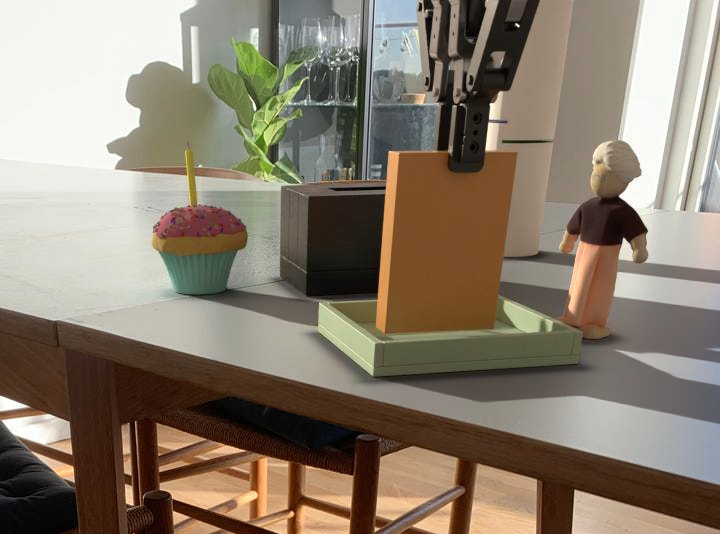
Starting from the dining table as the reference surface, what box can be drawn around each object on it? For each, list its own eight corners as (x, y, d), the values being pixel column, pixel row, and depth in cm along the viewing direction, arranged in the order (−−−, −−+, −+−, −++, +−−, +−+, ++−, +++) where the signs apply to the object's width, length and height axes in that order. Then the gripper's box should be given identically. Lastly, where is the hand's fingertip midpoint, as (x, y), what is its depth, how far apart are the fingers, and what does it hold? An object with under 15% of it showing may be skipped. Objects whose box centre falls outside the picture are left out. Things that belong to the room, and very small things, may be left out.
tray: (493, 321, 74) (497, 293, 73) (578, 364, 62) (583, 331, 61) (317, 331, 71) (318, 302, 70) (373, 377, 60) (375, 343, 59)
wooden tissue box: (437, 269, 94) (445, 180, 90) (478, 287, 86) (489, 190, 82) (279, 276, 91) (280, 185, 87) (305, 296, 83) (308, 196, 79)
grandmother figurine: (525, 328, 71) (553, 139, 65) (555, 321, 74) (584, 137, 67) (618, 347, 66) (657, 143, 60) (646, 338, 68) (687, 141, 62)
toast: (482, 322, 68) (504, 150, 62) (493, 329, 66) (518, 151, 60) (375, 327, 66) (388, 150, 61) (384, 333, 64) (399, 152, 59)
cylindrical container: (497, 245, 108) (529, -21, 95) (551, 251, 103) (592, -27, 91) (457, 251, 104) (485, -25, 91) (511, 259, 99) (549, -32, 87)
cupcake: (140, 286, 87) (131, 140, 81) (222, 278, 91) (219, 137, 85) (178, 302, 81) (171, 145, 75) (265, 293, 84) (265, 141, 78)
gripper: (620, -207, 47) (561, 178, 56) (500, -149, 59) (468, 162, 68) (479, -215, 46) (442, 181, 55) (386, -154, 58) (367, 164, 66)
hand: (456, 169), depth 61 cm, fingers closed on toast, 2 cm apart
